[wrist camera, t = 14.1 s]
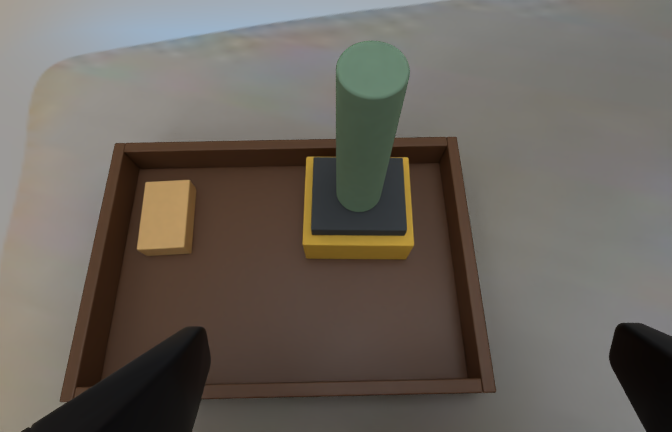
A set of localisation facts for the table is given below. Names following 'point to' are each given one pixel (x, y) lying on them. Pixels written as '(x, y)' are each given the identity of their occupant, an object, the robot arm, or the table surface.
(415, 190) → the tray
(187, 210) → the tan rectangular slab
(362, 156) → the sponge wand
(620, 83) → the table surface
